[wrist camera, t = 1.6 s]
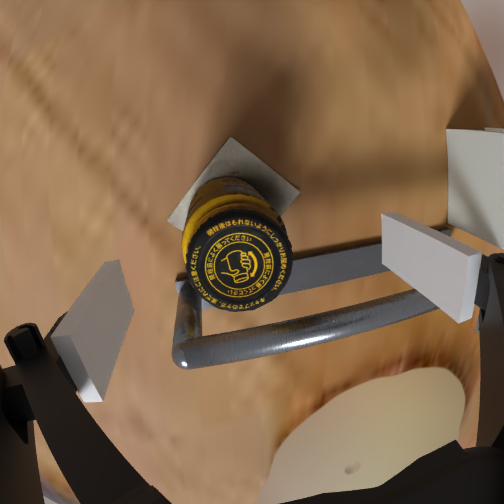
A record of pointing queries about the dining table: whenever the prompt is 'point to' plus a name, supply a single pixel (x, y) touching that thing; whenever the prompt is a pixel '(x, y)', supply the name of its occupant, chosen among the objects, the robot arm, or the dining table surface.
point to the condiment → (236, 231)
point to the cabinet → (477, 182)
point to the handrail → (300, 329)
